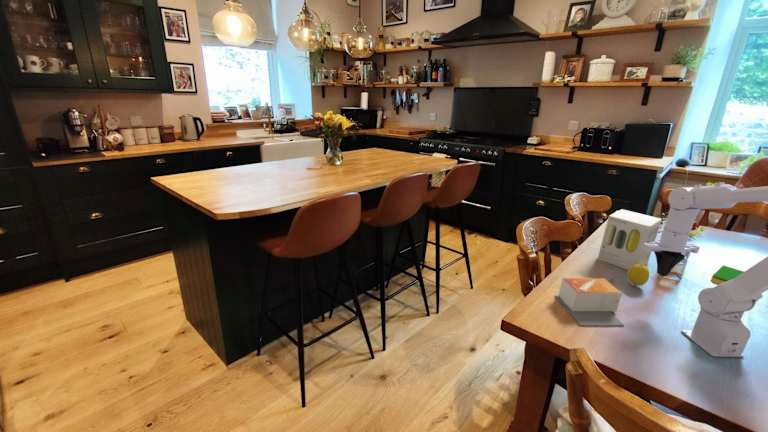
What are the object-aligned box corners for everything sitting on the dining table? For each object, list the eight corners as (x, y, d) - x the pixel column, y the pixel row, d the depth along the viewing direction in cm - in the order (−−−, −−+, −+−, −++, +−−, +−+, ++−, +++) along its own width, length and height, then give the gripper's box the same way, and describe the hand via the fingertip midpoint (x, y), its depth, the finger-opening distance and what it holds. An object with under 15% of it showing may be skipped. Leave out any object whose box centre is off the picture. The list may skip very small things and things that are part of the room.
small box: (622, 292, 99) (577, 292, 98) (616, 312, 101) (572, 312, 100) (604, 277, 106) (562, 277, 106) (599, 296, 109) (557, 296, 108)
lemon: (648, 291, 113) (655, 269, 110) (629, 289, 114) (636, 266, 111) (640, 282, 118) (647, 261, 115) (621, 280, 119) (628, 259, 116)
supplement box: (596, 258, 134) (607, 215, 128) (609, 250, 142) (621, 208, 136) (636, 273, 124) (651, 226, 118) (648, 262, 132) (663, 218, 126)
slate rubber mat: (623, 326, 96) (624, 325, 95) (580, 325, 95) (580, 324, 95) (593, 297, 109) (593, 296, 109) (554, 296, 108) (555, 295, 108)
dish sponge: (747, 279, 124) (750, 273, 123) (738, 291, 116) (740, 284, 115) (720, 271, 129) (723, 265, 128) (710, 281, 121) (712, 275, 120)
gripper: (690, 225, 101) (675, 268, 106) (640, 224, 101) (627, 267, 105) (712, 235, 95) (695, 280, 99) (659, 234, 94) (644, 279, 99)
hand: (661, 274), depth 102 cm, fingers closed
